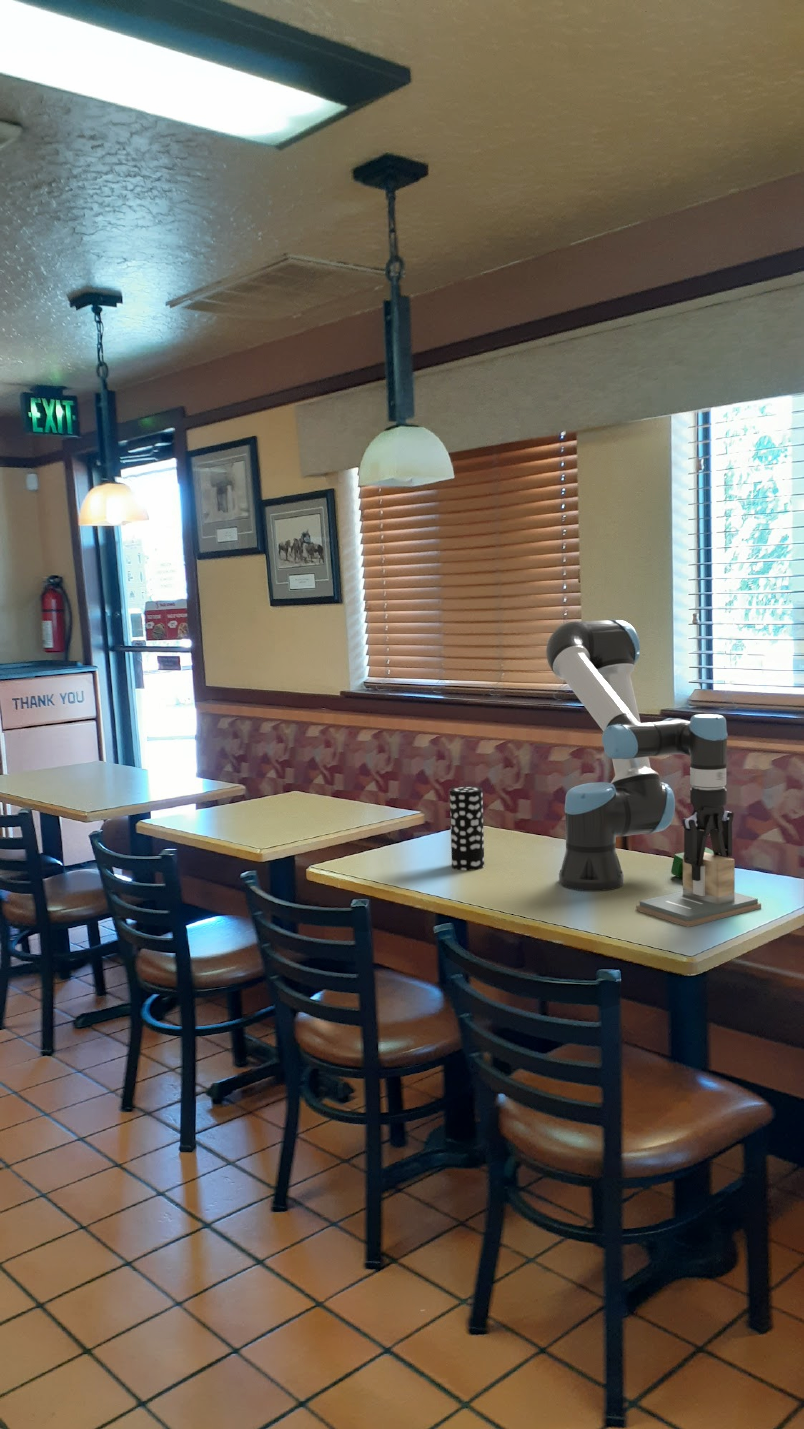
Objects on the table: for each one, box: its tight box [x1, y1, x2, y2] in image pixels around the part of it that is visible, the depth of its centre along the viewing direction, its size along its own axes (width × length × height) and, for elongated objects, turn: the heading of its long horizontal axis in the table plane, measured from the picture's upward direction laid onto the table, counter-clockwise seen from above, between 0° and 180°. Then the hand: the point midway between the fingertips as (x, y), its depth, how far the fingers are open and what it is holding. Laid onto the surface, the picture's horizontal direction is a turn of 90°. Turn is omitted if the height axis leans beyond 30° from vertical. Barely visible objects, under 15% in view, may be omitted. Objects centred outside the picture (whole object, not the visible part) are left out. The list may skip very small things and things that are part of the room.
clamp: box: [670, 846, 714, 879], centre depth 257 cm, size 12×6×9 cm, turn 117°
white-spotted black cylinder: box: [449, 786, 485, 872], centre depth 273 cm, size 8×8×20 cm
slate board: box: [635, 890, 762, 928], centre depth 231 cm, size 15×22×2 cm
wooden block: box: [682, 852, 736, 905], centre depth 232 cm, size 10×5×9 cm, turn 32°
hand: (708, 892), depth 232 cm, fingers closed on wooden block, 5 cm apart
